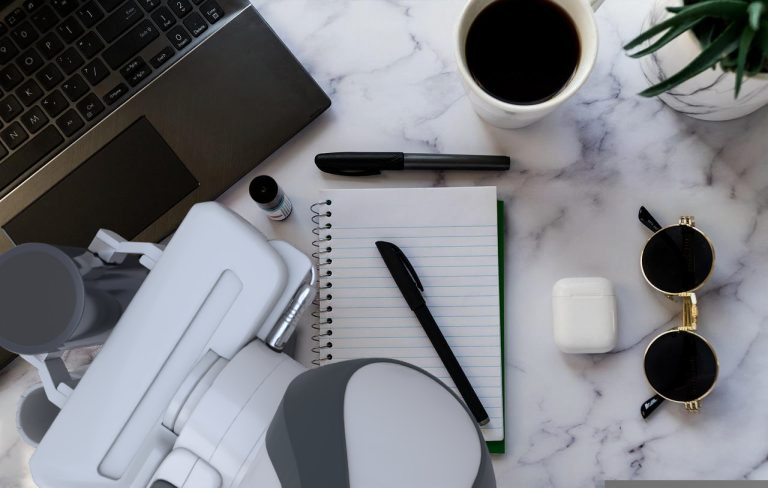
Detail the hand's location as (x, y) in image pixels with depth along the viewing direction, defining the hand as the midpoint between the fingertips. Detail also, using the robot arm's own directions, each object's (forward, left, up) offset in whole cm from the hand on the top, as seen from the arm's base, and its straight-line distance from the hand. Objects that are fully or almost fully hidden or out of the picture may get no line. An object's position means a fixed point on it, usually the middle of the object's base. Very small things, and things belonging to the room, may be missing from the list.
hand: (65, 290), depth 41 cm
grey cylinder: (0, -1, -6) cm, 6 cm away
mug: (-13, +8, -28) cm, 32 cm away
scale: (-6, -6, -28) cm, 29 cm away
